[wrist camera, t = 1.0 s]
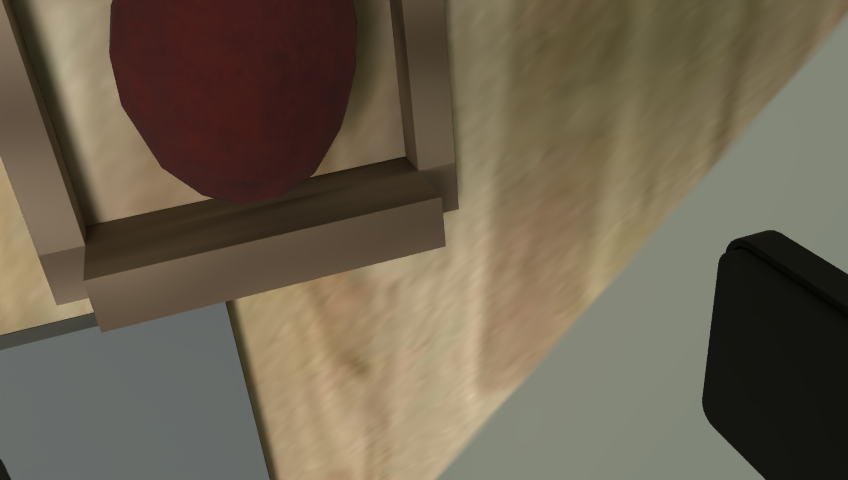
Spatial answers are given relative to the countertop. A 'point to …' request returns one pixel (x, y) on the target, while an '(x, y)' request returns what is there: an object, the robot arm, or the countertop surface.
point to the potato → (235, 87)
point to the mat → (128, 401)
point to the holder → (227, 222)
